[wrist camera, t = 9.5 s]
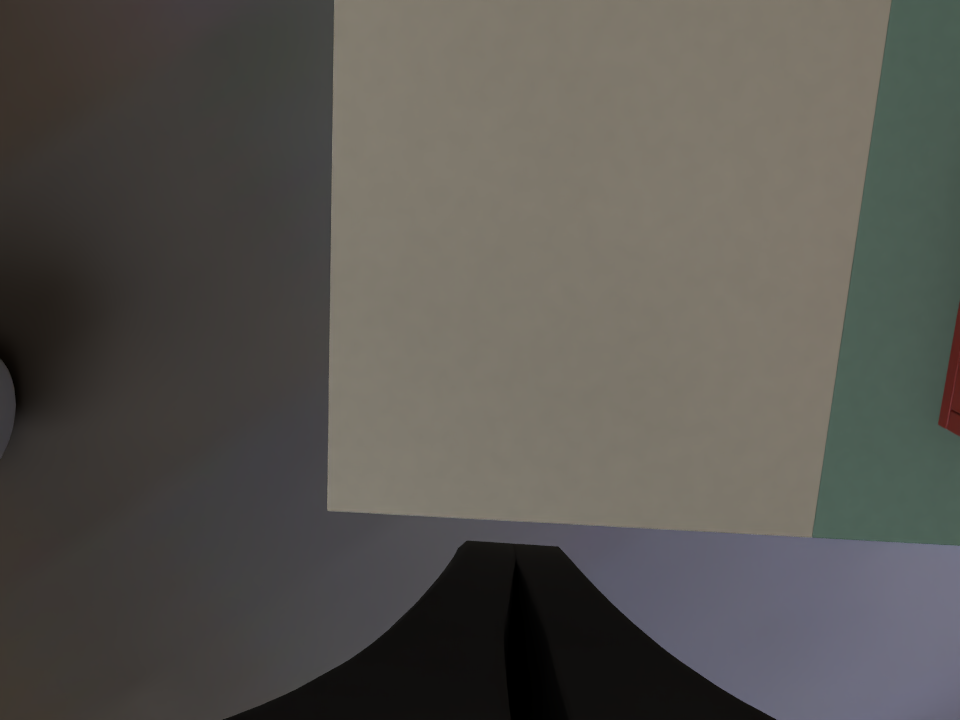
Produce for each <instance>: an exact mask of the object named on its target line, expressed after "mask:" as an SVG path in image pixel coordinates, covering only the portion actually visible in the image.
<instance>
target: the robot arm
mask: <svg viewBox="0 0 960 720" xmlns="http://www.w3.org/2000/svg"><path fill="white" fill-rule="evenodd" d="M223 720H776V719H774V718H772V717H771V716H769V715H767V714H765V713H763V712H761V711H759V710H758V709H756V708H754V707H752V706H750V705H748V704H746V703H745V702H743V701H741V700H739V699H738V698H736V697H734V696H733V695H731V694H729V693H727V692H726V691H724V690H722V689H721V688H719V687H718V686H716V685H714V684H713V683H712V682H710V681H709V680H707V679H706V678H704V677H703V676H701V675H700V674H698V673H697V672H695V671H694V670H692V669H691V668H689V667H688V666H686V665H685V664H683V663H682V662H681V661H679V660H678V659H676V658H675V657H674V656H672V655H671V654H670V653H668V652H667V651H666V650H665V649H663V648H662V647H661V646H660V645H658V644H657V643H656V642H655V641H654V640H652V639H651V638H650V637H649V636H648V635H646V634H645V633H644V632H643V631H642V630H640V629H639V628H638V627H637V626H636V625H635V624H633V623H632V622H631V621H630V620H629V619H628V618H627V617H626V616H625V615H624V614H622V613H621V612H620V611H619V610H618V609H617V608H616V607H615V606H614V605H613V604H612V603H611V602H610V601H609V600H608V599H607V598H606V597H605V596H604V595H603V594H602V593H601V592H600V591H599V590H598V589H597V588H596V587H595V586H594V585H593V584H592V583H591V582H590V581H589V580H588V578H587V577H586V576H585V575H584V574H583V573H582V572H581V571H580V570H579V569H578V568H577V566H576V565H575V564H574V563H573V562H572V561H571V560H570V559H569V558H568V556H567V555H566V554H565V553H564V552H563V551H562V550H561V549H560V548H559V547H555V546H540V545H525V544H509V543H494V542H479V541H466V542H465V543H464V544H463V545H461V546H460V547H459V548H458V550H457V552H456V554H455V555H454V557H453V559H452V560H451V562H450V563H449V564H448V566H447V567H446V568H445V570H444V571H443V572H442V574H441V575H440V576H439V578H438V579H437V580H436V581H435V582H434V583H433V585H432V586H431V587H430V588H429V589H428V590H427V592H426V593H425V594H424V595H423V596H422V597H421V598H420V600H419V601H418V602H417V603H416V604H415V605H414V606H413V607H412V608H411V609H410V610H409V611H408V612H407V613H406V614H405V615H403V616H402V617H401V618H400V619H399V620H398V621H397V622H396V623H395V624H394V625H393V626H392V627H391V628H390V629H389V630H388V631H387V632H385V633H384V634H383V635H382V636H381V637H379V638H378V639H377V640H376V641H375V642H373V643H372V644H371V645H370V646H368V647H367V648H365V649H364V650H363V651H361V652H360V653H358V654H357V655H356V656H354V657H353V658H351V659H350V660H348V661H346V662H345V663H343V664H341V665H340V666H338V667H336V668H334V669H332V670H331V671H329V672H327V673H325V674H323V675H322V676H320V677H318V678H316V679H314V680H312V681H311V682H309V683H307V684H305V685H303V686H302V687H300V688H298V689H296V690H294V691H292V692H290V693H288V694H286V695H283V696H281V697H279V698H276V699H274V700H272V701H270V702H267V703H265V704H263V705H260V706H258V707H255V708H253V709H250V710H247V711H245V712H242V713H240V714H237V715H234V716H232V717H229V718H226V719H223Z"/></svg>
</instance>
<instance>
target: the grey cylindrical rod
mask: <svg viewBox="0 0 960 720" xmlns="http://www.w3.org/2000/svg"><path fill="white" fill-rule="evenodd" d="M15 411H16V400H15V390H14V385H13V382H12V378H11V376H10V373H9V370H8V369H7V367H6V366H5V364H4V363H3V361H2V360H1V359H0V458H1V457H2V455H3V453H4V451H5V449H6V447H7V445H8V442H9V439H10V436H11V433H12V430H13V426H14V419H15Z"/></svg>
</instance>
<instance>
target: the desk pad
mask: <svg viewBox="0 0 960 720" xmlns="http://www.w3.org/2000/svg"><path fill="white" fill-rule="evenodd" d="M959 301H960V0H334V58H333V130H332V203H331V275H330V348H329V420H328V492H327V510H328V511H340V512H358V513H376V514H395V515H413V516H431V517H449V518H467V519H485V520H504V521H522V522H540V523H558V524H576V525H594V526H613V527H631V528H649V529H667V530H685V531H703V532H721V533H740V534H758V535H776V536H794V537H813V538H830V539H849V540H867V541H885V542H903V543H921V544H939V545H958V546H960V437H959V436H958V435H956V434H954V433H952V432H950V431H949V430H947V429H945V428H943V427H941V426H939V425H938V421H939V415H940V410H941V404H942V398H943V393H944V387H945V381H946V375H947V370H948V364H949V358H950V353H951V347H952V341H953V336H954V330H955V324H956V318H957V313H958V307H959Z"/></svg>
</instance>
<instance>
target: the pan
mask: <svg viewBox="0 0 960 720" xmlns="http://www.w3.org/2000/svg"><path fill="white" fill-rule="evenodd" d="M938 425H939V426H941V427H943V428H945V429H947V430H949V431H950V432H952V433H954V434H956V435H958V436H959V437H960V301H959V307H958V313H957V318H956V324H955V330H954V336H953V341H952V347H951V353H950V358H949V364H948V370H947V375H946V381H945V387H944V393H943V398H942V404H941V410H940V415H939V421H938Z"/></svg>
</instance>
